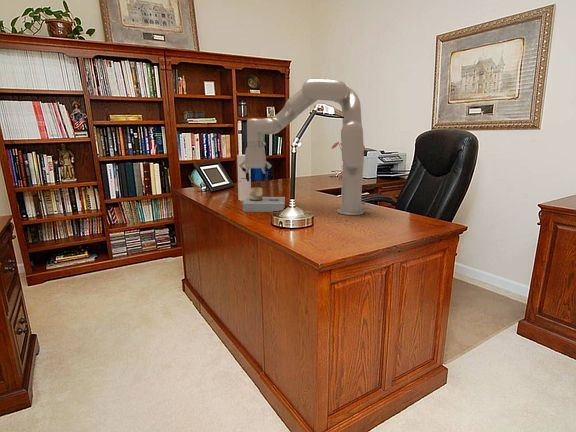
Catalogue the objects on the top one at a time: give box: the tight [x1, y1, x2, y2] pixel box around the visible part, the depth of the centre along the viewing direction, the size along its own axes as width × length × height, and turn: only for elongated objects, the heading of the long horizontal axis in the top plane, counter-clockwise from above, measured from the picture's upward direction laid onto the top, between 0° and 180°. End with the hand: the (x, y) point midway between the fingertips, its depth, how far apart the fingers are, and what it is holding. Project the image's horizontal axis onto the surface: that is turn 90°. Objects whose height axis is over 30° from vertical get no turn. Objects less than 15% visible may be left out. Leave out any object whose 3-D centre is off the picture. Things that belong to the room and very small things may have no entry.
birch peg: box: [249, 186, 263, 201], centre depth 177 cm, size 6×6×10 cm
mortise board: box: [242, 196, 286, 213], centre depth 177 cm, size 20×18×4 cm
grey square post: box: [236, 154, 252, 202], centre depth 195 cm, size 7×7×25 cm
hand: (255, 180), depth 175 cm, fingers open, 6 cm apart
